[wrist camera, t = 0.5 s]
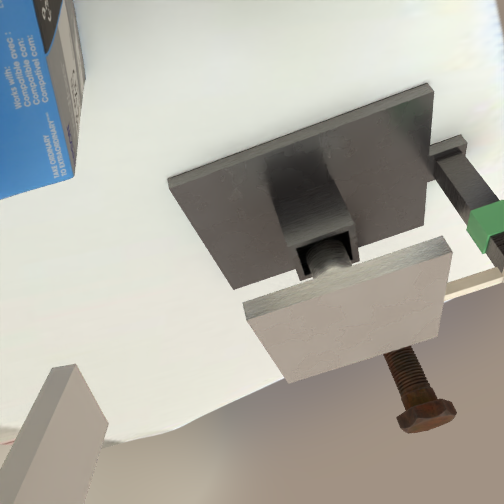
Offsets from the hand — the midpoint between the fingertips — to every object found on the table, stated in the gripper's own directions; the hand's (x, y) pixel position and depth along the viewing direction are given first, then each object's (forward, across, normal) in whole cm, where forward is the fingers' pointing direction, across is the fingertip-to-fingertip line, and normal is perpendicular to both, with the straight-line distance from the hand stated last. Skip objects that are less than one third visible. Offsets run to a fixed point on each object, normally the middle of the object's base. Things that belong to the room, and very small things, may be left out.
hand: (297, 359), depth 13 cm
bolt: (+33, +10, -24) cm, 42 cm away
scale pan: (+19, +5, -8) cm, 21 cm away
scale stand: (+24, +5, -6) cm, 25 cm away
